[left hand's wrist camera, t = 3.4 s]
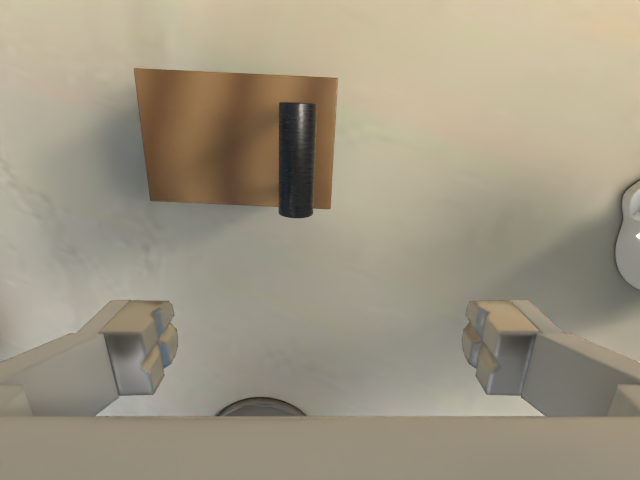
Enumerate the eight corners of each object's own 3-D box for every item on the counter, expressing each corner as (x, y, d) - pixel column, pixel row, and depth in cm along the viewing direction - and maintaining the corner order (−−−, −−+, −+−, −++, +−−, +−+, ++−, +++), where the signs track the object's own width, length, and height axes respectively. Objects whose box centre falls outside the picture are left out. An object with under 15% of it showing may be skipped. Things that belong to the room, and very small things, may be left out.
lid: (337, 78, 26) (343, 67, 18) (330, 206, 29) (332, 248, 21) (139, 69, 26) (51, 53, 18) (155, 198, 29) (87, 236, 21)
